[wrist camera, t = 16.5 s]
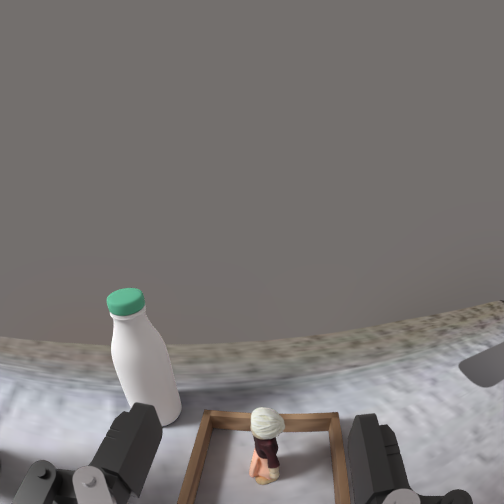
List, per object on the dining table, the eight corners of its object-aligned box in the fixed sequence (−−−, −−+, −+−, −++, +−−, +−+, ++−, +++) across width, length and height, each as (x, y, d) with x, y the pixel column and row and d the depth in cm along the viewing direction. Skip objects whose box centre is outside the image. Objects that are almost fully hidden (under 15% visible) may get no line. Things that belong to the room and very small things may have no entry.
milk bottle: (192, 414, 38) (166, 296, 32) (148, 436, 33) (103, 317, 27) (167, 387, 44) (141, 276, 37) (126, 405, 39) (87, 293, 32)
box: (179, 523, 21) (173, 515, 20) (207, 422, 37) (204, 409, 36) (346, 529, 19) (352, 522, 18) (334, 425, 35) (338, 412, 34)
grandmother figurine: (239, 456, 31) (231, 393, 27) (267, 447, 32) (266, 383, 28) (262, 501, 24) (261, 450, 20) (293, 490, 25) (302, 435, 21)
